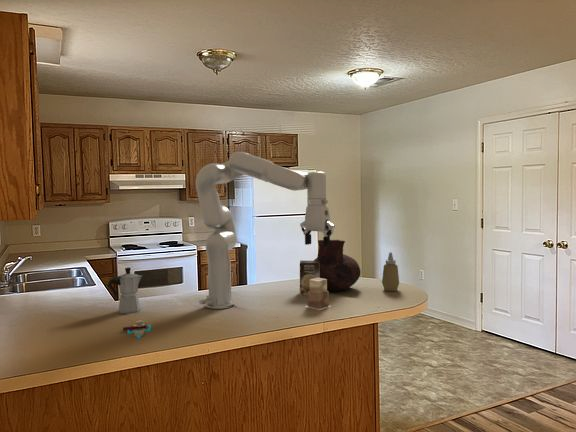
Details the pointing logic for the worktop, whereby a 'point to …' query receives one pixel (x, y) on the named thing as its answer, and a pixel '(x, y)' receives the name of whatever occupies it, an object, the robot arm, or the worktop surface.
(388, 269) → the squeeze bottle
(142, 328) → the gear mechanism
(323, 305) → the walnut base block
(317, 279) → the maple cube
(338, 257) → the jug
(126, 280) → the coffee maker
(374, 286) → the worktop surface
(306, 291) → the coffee box
